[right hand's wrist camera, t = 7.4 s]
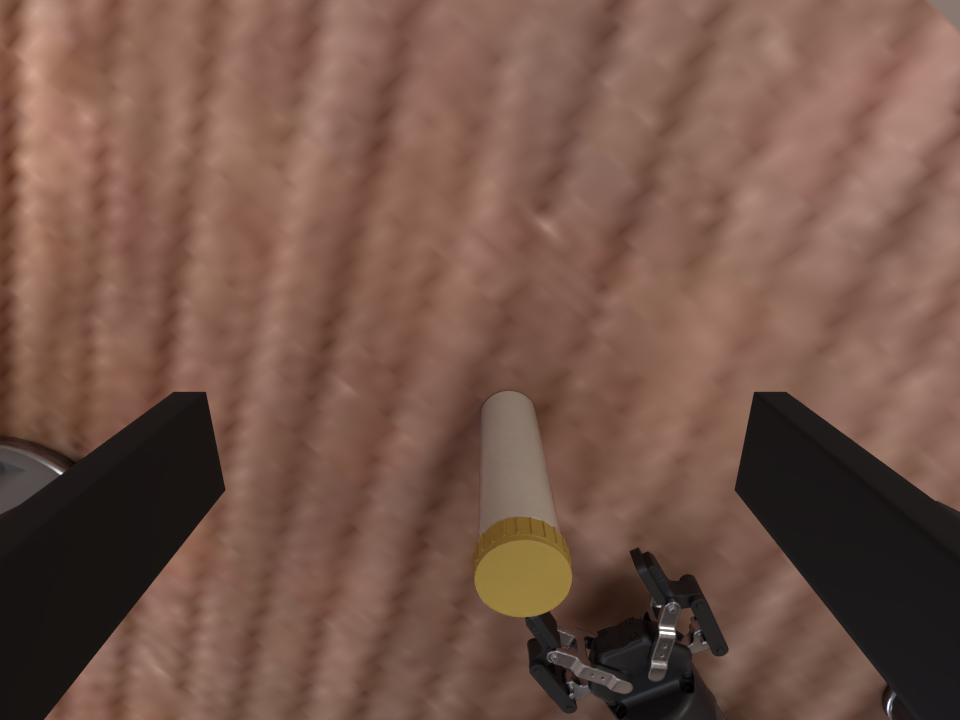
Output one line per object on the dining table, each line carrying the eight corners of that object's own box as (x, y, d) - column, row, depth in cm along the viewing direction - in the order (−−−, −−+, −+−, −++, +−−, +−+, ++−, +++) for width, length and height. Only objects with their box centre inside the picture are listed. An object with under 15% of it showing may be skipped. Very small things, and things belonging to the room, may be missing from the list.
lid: (454, 556, 26) (452, 582, 24) (520, 497, 25) (522, 521, 23) (521, 605, 27) (523, 634, 25) (588, 552, 26) (594, 578, 24)
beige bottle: (469, 416, 40) (459, 574, 25) (507, 379, 39) (521, 520, 24) (509, 449, 41) (523, 621, 26) (547, 414, 40) (586, 571, 24)
